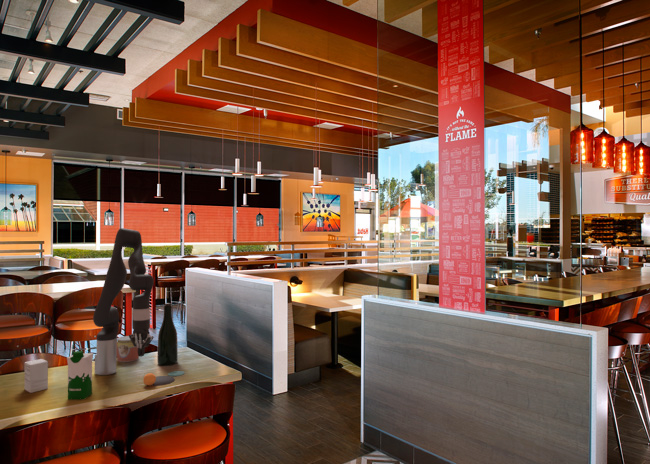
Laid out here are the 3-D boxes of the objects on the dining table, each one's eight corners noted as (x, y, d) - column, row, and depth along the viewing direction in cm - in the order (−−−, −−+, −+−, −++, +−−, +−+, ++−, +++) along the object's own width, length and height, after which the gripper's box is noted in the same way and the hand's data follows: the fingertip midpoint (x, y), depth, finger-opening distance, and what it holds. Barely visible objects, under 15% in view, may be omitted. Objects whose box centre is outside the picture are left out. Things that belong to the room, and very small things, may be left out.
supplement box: (42, 385, 212) (42, 358, 212) (48, 388, 207) (48, 361, 207) (23, 389, 206) (24, 361, 206) (29, 393, 201) (30, 364, 201)
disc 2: (165, 375, 226) (165, 375, 226) (172, 371, 234) (172, 370, 234) (180, 376, 225) (180, 376, 225) (187, 371, 233) (187, 371, 233)
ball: (147, 369, 215) (154, 377, 217) (138, 379, 211) (145, 386, 214) (153, 371, 211) (160, 379, 214) (144, 381, 208) (151, 389, 210)
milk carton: (64, 400, 193) (64, 353, 193) (75, 393, 202) (75, 348, 202) (85, 400, 193) (85, 353, 193) (95, 392, 202) (95, 347, 202)
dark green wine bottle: (161, 360, 254) (162, 301, 254) (180, 360, 253) (180, 301, 253) (154, 366, 243) (154, 304, 243) (173, 366, 243) (173, 304, 243)
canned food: (113, 361, 251) (113, 340, 251) (123, 356, 262) (123, 335, 262) (133, 362, 251) (133, 340, 251) (142, 356, 262) (142, 335, 262)
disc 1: (138, 385, 213) (138, 384, 213) (153, 375, 227) (153, 375, 227) (166, 386, 211) (166, 385, 211) (179, 376, 225) (179, 376, 225)
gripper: (158, 317, 209) (158, 355, 209) (136, 315, 214) (136, 352, 214) (146, 320, 202) (146, 359, 202) (123, 318, 207) (123, 356, 207)
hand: (141, 355), depth 208 cm, fingers closed
